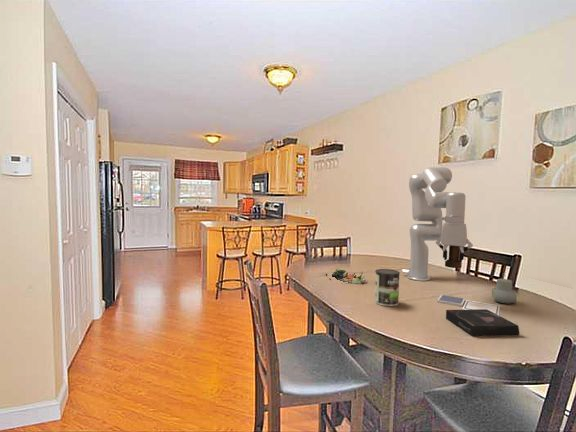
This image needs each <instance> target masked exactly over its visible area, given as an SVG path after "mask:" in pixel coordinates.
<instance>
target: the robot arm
mask: <svg viewBox="0 0 576 432" xmlns="http://www.w3.org/2000/svg"><path fill="white" fill-rule="evenodd" d="M452 179H453V172H452V171H451V169H450V168H448V167H443V166H442V167H440V166H439V167H438V166H436V167H427V168H425V169H423V171H422V172H421V173H415V174H412V175H411V176H410V177H409V180H408V188H409V192H410V195H411V208H412V209H411V212H412V213H411V214H412V219H413V220H414V221H416V222H430V223H414V224H412V225H411V226H410V228H409V236H410V262H409V266H410V267H409V269H405V268H404V269H402V273H403V274H406V278H407V279H410V280H412V281H418V282H424V281H425V282H427V281H430V280H431V276H429V275H428V274H429V247H428V244H426V242H427V241H430V242H431V241H434V242H435V244H436V245H437V246H438V247H439V248H440V249H441V250H442V258H443V260H444V261H446V260H448V249H447V248H449V246H459V251H460V252H459V257H458V260H459V261H460V262H461V263H462V261H464V257H465V252H467V251H468V250H469V249H471V248H473V246H474V245H473V244H472V242H471V241H470V240H469V239H468V230H467V224H466V223H465V217H466V214H465V213H466V212H465V211H466V194H465V193H464V192H455V191H454V192H453V191H452V192H450V191H445V190H446V188H447V185H448V184H450V182H451V181H452ZM423 189H424V190H423ZM442 209H445V216H443V210H442ZM443 221H444V222H443ZM425 241H426V242H425ZM466 245H467V246H466Z"/></svg>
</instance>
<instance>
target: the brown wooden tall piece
mask: <svg viewBox="0 0 576 432" xmlns="http://www.w3.org/2000/svg"><path fill="white" fill-rule="evenodd" d="M459 251H460V247H459V246H448V258H447V259H446V260H444V267H446V268H451V269H461V268H462V267H463V266H462V264H463V263H462V262H460V261H459V256H460V252H459Z"/></svg>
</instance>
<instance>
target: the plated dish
mask: <svg viewBox="0 0 576 432" xmlns="http://www.w3.org/2000/svg"><path fill="white" fill-rule="evenodd" d="M363 272H364V271H361V272H360V274H361V275H360V276H359V275H355V273H356V272H353V273H354V274H352V275H351V274H349V275H348V273H349V272H348V271H347V270H345V269H339V268H336V269H335V271H333V272H331V273H333V274H332V277H335V278H336V279H337V280H340V281H343V282H348V283H347V284H352V283H354V284H353V285H363V284H364V283H365V284H368V280H367V279H366V278H365V275H364V274H363ZM354 275H355V276H354ZM365 284H364V285H365Z"/></svg>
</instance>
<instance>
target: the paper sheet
mask: <svg viewBox="0 0 576 432" xmlns="http://www.w3.org/2000/svg"><path fill="white" fill-rule="evenodd" d="M471 309H487V310H489V311H491V312H493V313H495V314H497V315H499V316H500V311H501V310H500V309H501V305H499V304H492V303H486V302H479V301H473V300H469V299H465V302H464V304H463V306H462V307H461V310H471Z"/></svg>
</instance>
